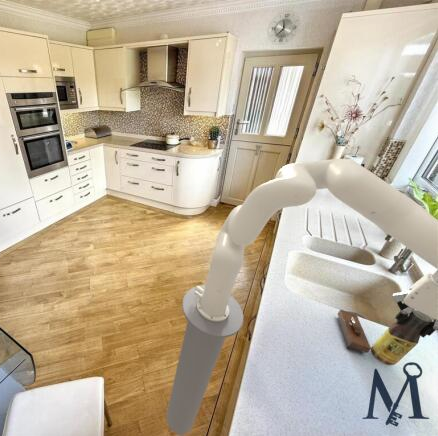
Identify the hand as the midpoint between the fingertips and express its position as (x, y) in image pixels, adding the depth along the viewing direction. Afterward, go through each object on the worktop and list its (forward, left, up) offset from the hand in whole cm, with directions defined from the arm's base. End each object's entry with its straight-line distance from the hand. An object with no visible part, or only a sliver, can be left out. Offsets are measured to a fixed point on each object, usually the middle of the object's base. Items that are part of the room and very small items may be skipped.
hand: (410, 327), depth 67 cm
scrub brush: (-9, +2, -16) cm, 18 cm away
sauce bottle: (0, 0, -15) cm, 15 cm away
